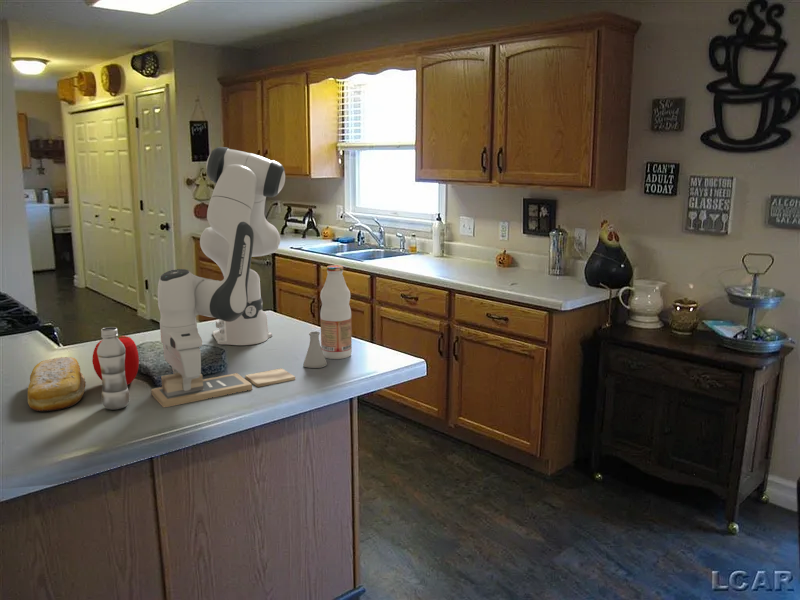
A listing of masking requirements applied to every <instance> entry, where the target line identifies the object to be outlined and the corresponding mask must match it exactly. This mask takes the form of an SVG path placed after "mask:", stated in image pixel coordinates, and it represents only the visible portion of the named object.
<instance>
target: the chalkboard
mask: <svg viewBox="0 0 800 600" xmlns="http://www.w3.org/2000/svg"><path fill="white" fill-rule="evenodd" d="M247 390H248V391H252V390H253V383H252V382H250V381H249V380H248V379H246V378H245V377H243V376H242V375H240V374H239V373H238V372H235V373H229V374H224V375H219V376H214V377H209V378H203V390H199V391H194V392H189V393H184V394H179V395H174V396H169V397H168V396H167V395H166V394H165V393H164V392H163V391H162V386H161V387H160V386H159V387H155V388H151V395H152V396H153V398H154V399H155V400H156V401H157V402H158V403H159V405H161V407H162V408H169V407H173V406H178V405H183V404H189V403H193V402H197V401H198V402H199V401H203V400H209V399H212V397H213V398H218V397H223V396H227V394H228V395H232V393H233V394H237V393H236V392H238V393H242V391H243V392H247ZM208 398H209V399H208Z"/></svg>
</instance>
